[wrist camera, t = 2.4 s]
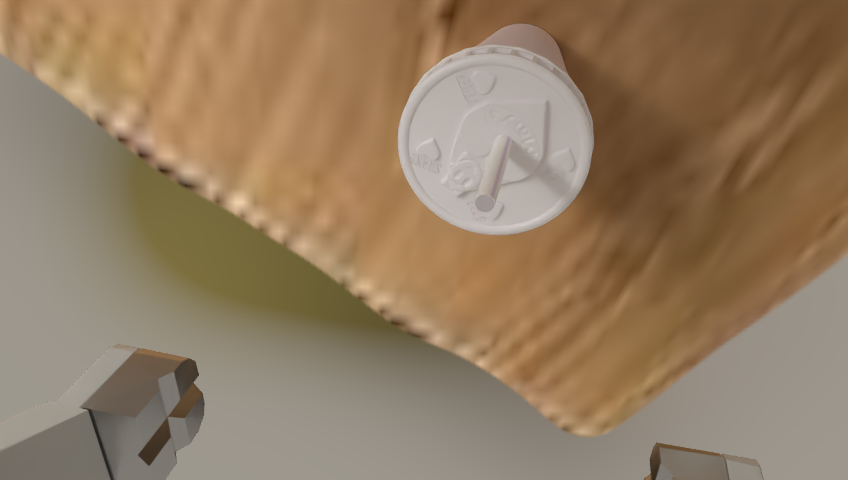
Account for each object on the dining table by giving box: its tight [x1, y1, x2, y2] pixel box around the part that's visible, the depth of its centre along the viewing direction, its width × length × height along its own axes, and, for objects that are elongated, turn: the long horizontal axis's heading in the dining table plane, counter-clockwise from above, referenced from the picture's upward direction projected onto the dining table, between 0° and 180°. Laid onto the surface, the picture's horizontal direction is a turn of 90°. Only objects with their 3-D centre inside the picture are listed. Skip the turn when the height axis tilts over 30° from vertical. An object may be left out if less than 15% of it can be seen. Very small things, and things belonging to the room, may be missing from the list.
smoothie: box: [398, 23, 594, 235], centre depth 24 cm, size 6×6×14 cm
